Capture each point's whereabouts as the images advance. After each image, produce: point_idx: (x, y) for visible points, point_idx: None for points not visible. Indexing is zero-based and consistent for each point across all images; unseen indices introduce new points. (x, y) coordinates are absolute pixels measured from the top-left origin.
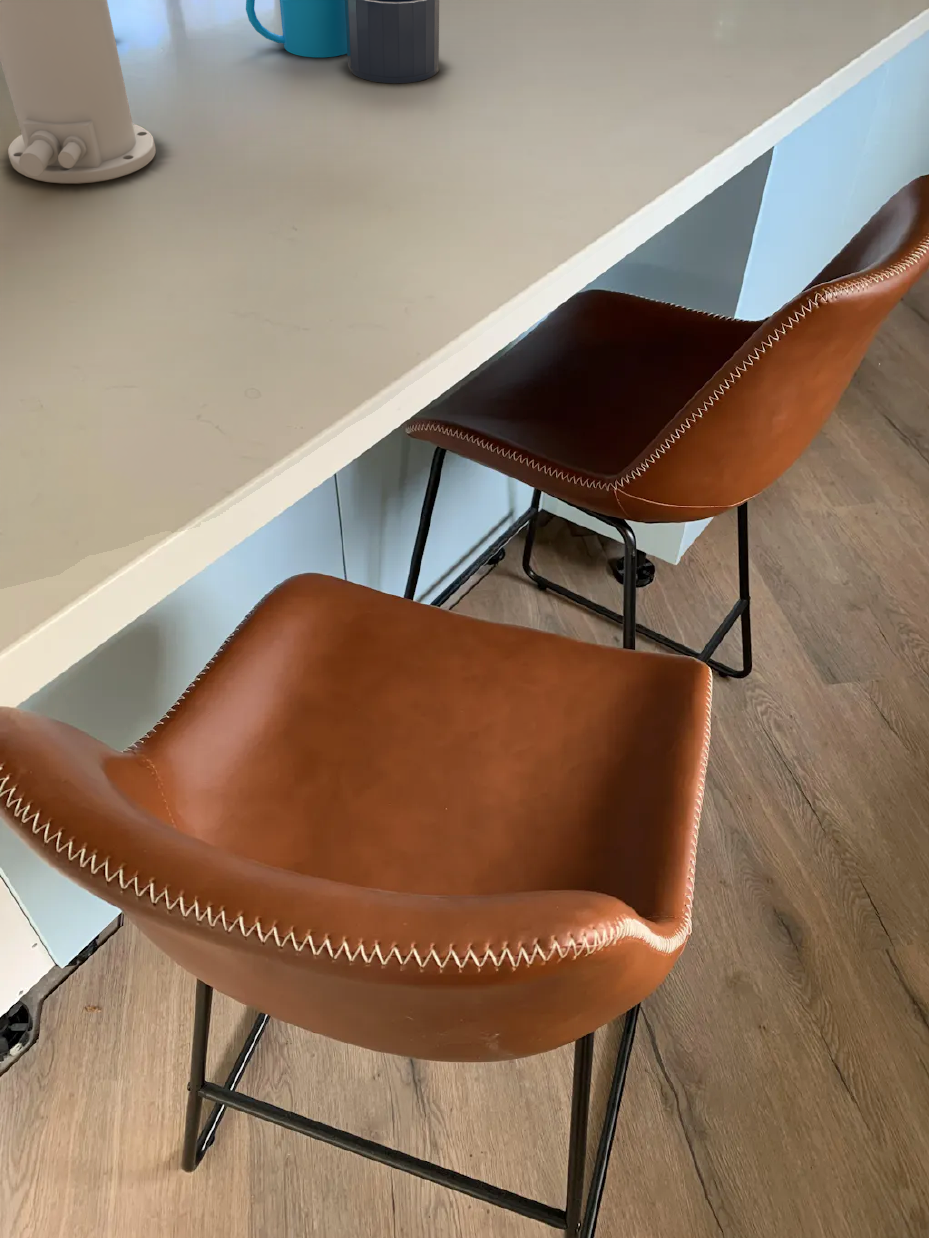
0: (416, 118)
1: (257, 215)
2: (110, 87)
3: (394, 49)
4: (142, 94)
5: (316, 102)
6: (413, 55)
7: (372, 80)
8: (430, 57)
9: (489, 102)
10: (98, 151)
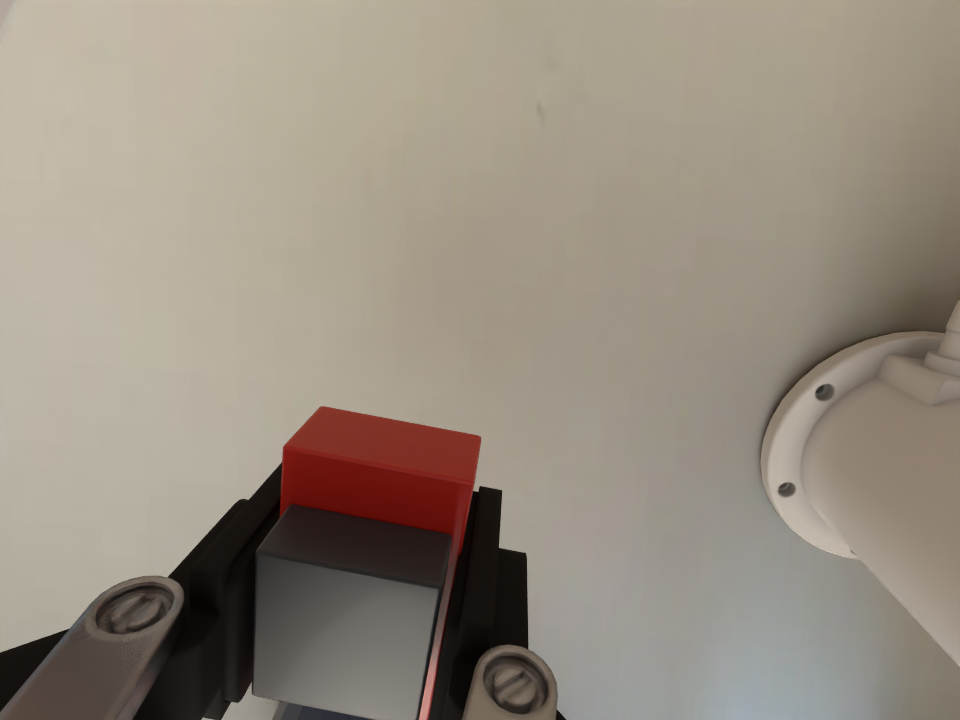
0: None
1: (604, 179)
2: (909, 466)
3: (330, 717)
4: (754, 675)
5: None
6: (302, 707)
7: None
8: (279, 711)
9: None
10: (892, 380)
